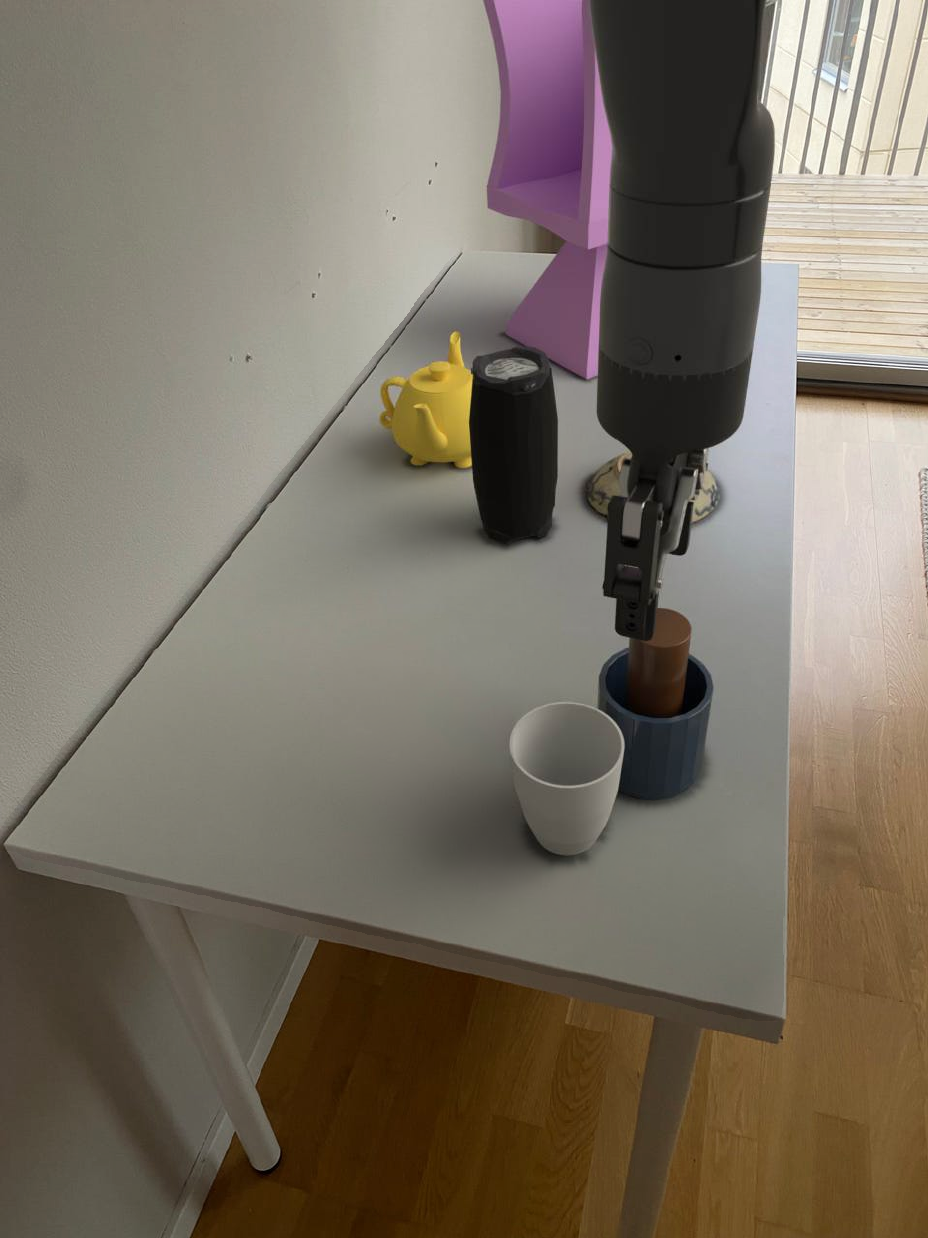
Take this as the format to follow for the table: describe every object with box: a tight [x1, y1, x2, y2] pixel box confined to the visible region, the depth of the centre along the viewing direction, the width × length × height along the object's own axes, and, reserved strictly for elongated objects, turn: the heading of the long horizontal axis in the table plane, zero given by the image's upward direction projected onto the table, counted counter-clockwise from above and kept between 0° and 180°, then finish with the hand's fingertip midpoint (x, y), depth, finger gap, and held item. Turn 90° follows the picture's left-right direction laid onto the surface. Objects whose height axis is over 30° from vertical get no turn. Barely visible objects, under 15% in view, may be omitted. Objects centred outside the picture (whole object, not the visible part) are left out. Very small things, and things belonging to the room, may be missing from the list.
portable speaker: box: [469, 345, 559, 545], centre depth 98 cm, size 9×9×20 cm
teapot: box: [379, 331, 473, 469], centre depth 114 cm, size 20×15×12 cm
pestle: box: [625, 607, 693, 718], centre depth 73 cm, size 4×4×14 cm
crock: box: [597, 646, 715, 801], centre depth 75 cm, size 9×9×9 cm
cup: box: [509, 701, 624, 856], centre depth 70 cm, size 8×8×10 cm
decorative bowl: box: [585, 450, 720, 524], centre depth 107 cm, size 15×4×15 cm
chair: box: [482, 0, 612, 380], centre depth 126 cm, size 22×22×45 cm
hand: (653, 590), depth 57 cm, fingers open, 8 cm apart
